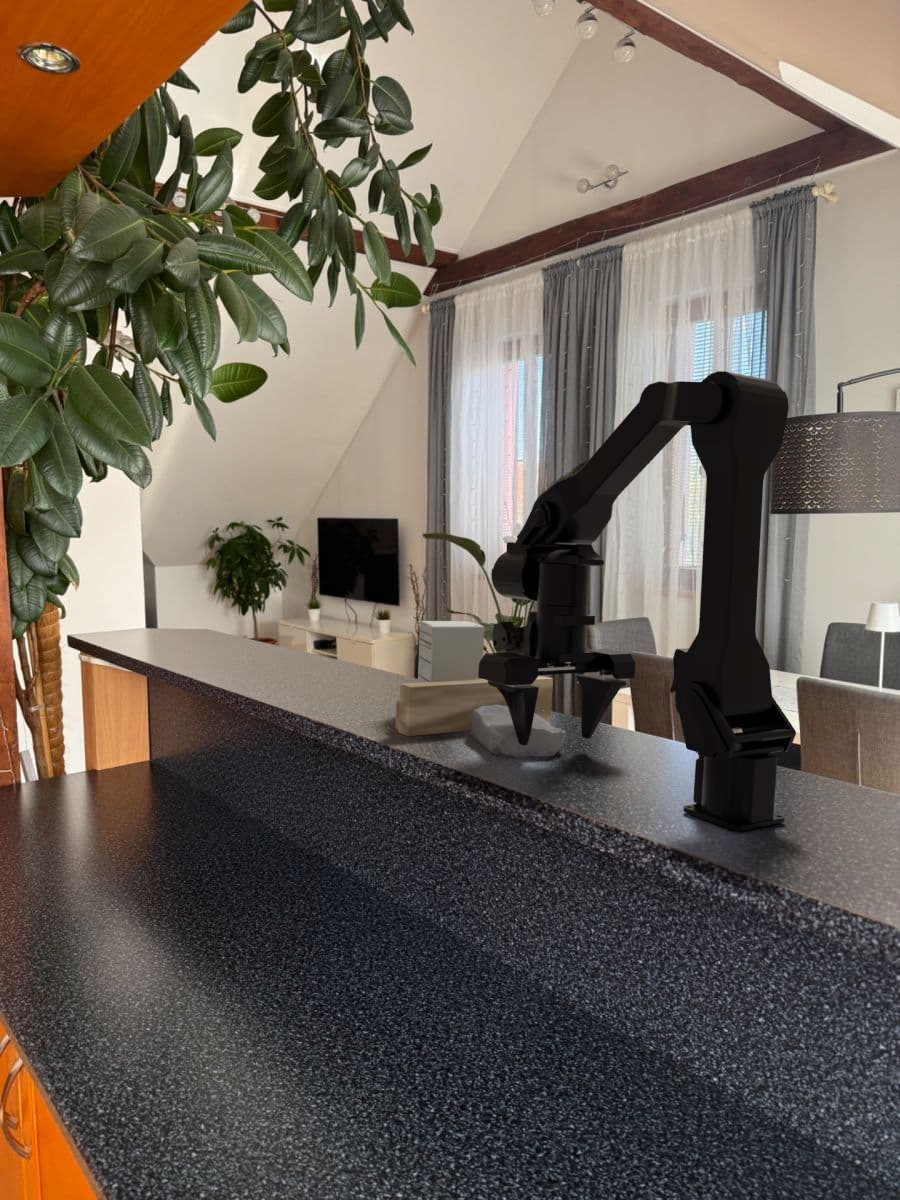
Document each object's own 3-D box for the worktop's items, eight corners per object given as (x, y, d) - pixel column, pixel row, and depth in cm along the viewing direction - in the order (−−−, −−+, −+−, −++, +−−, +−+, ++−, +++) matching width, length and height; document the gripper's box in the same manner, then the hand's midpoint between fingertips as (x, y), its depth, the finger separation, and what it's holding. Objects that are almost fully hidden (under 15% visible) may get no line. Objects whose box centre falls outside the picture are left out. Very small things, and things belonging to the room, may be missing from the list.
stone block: (536, 749, 115) (462, 734, 112) (546, 712, 115) (472, 696, 112) (570, 777, 103) (488, 761, 101) (581, 736, 103) (499, 719, 101)
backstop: (550, 722, 122) (552, 678, 121) (408, 736, 110) (410, 687, 110) (530, 716, 125) (532, 673, 125) (390, 729, 114) (392, 681, 113)
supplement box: (465, 708, 129) (469, 620, 129) (481, 719, 122) (485, 626, 121) (415, 709, 127) (419, 619, 126) (428, 720, 120) (432, 625, 119)
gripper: (578, 599, 114) (572, 722, 115) (454, 598, 104) (448, 733, 105) (642, 606, 105) (634, 740, 106) (512, 607, 95) (504, 754, 96)
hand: (555, 741), depth 103 cm, fingers open, 9 cm apart
